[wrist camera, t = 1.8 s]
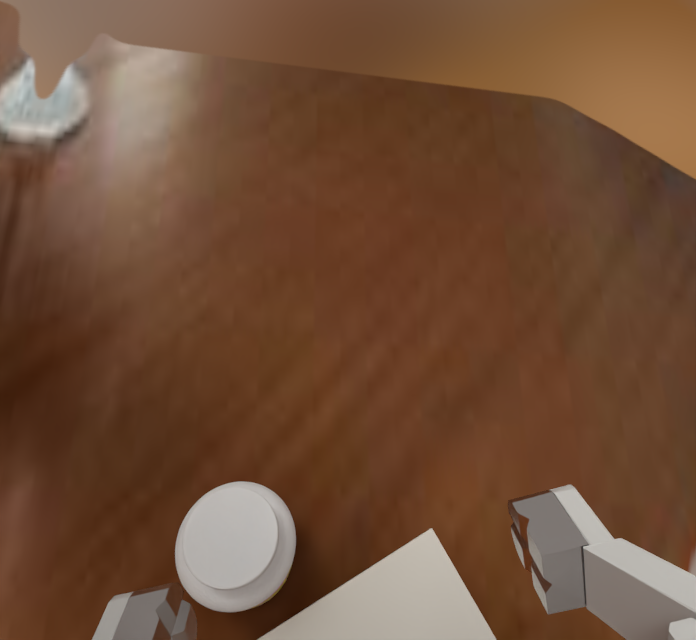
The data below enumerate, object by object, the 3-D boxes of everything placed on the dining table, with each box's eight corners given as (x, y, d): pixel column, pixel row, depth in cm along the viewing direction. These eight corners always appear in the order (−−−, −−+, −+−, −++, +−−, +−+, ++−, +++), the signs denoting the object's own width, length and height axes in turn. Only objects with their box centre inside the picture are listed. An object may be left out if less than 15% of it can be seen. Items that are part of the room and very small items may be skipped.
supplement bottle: (257, 630, 31) (242, 649, 20) (180, 573, 32) (127, 563, 21) (310, 538, 34) (322, 511, 24) (239, 489, 36) (219, 443, 25)
